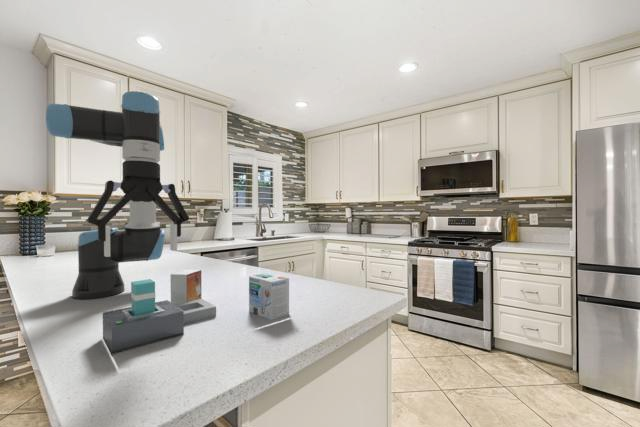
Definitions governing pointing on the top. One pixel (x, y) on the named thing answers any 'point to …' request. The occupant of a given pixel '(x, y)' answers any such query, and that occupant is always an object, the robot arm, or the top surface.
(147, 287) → the plug
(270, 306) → the light bulb box
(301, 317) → the top surface
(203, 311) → the holster
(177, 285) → the small box
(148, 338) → the port panel
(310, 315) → the top surface
